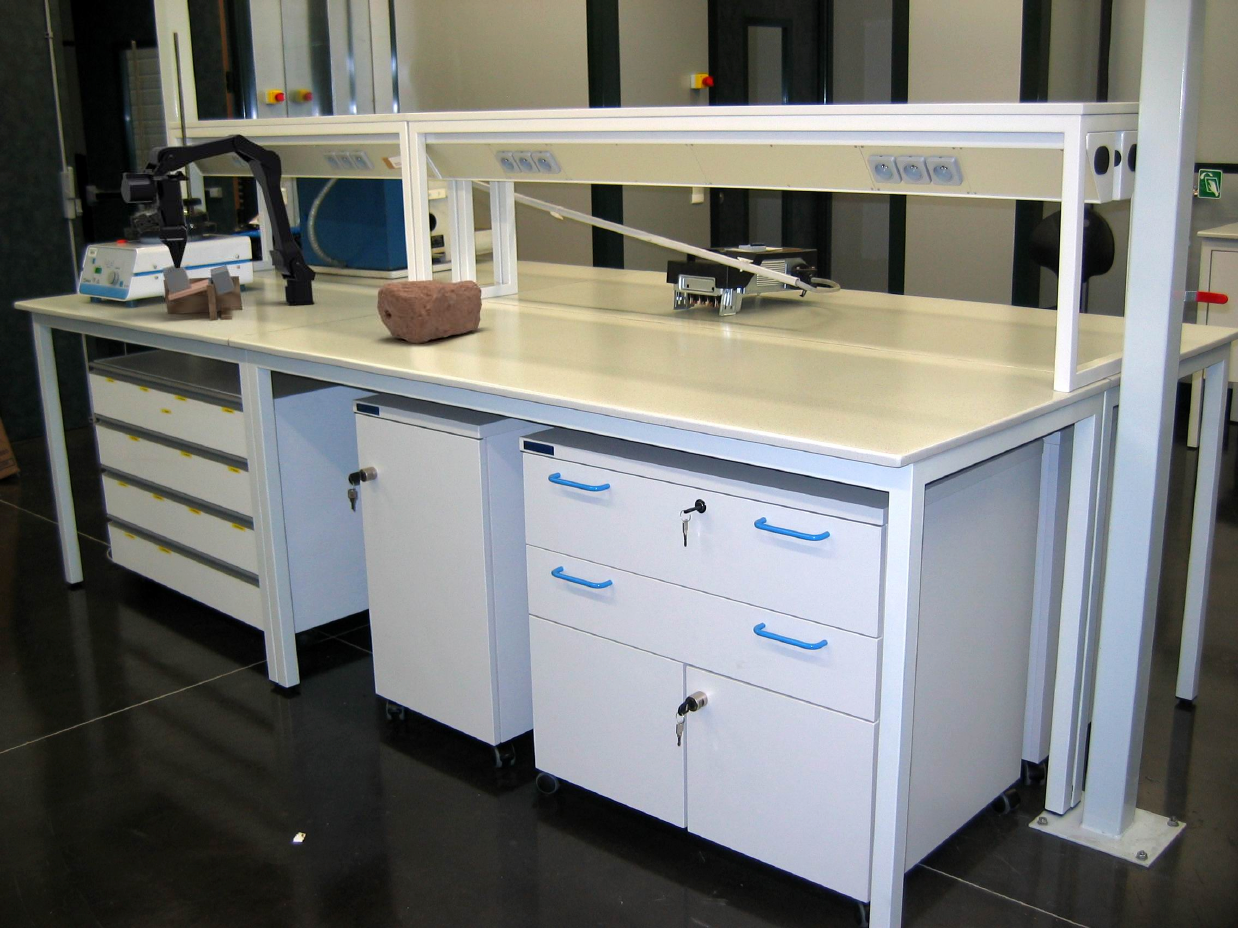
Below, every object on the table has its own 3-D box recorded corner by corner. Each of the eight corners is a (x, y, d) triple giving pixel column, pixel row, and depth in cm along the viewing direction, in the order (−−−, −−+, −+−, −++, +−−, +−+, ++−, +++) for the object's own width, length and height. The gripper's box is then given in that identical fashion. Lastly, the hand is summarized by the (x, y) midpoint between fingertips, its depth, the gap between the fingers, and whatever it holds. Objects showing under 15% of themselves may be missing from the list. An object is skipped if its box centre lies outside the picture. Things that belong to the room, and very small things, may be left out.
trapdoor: (233, 283, 288) (226, 264, 287) (234, 290, 276) (227, 270, 274) (174, 301, 285) (166, 282, 283) (172, 308, 272) (164, 288, 271)
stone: (511, 325, 253) (494, 259, 252) (427, 339, 234) (408, 268, 233) (462, 340, 264) (446, 278, 263) (378, 355, 244) (360, 287, 243)
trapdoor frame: (242, 309, 292) (238, 276, 290) (244, 318, 277) (240, 283, 274) (167, 313, 287) (163, 279, 284) (165, 323, 271) (161, 287, 269)
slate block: (191, 285, 281) (182, 262, 279) (191, 288, 277) (182, 264, 274) (171, 291, 280) (162, 268, 278) (170, 294, 275) (161, 270, 273)
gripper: (136, 200, 278) (144, 264, 283) (131, 204, 261) (140, 272, 266) (184, 198, 282) (191, 262, 286) (183, 202, 265) (191, 269, 269)
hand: (178, 266), depth 277 cm, fingers open, 9 cm apart
